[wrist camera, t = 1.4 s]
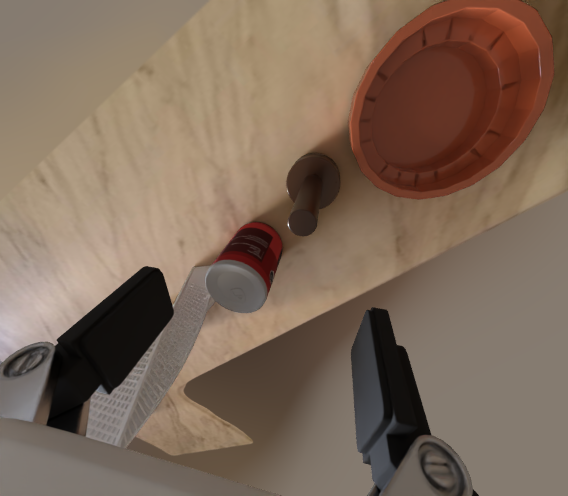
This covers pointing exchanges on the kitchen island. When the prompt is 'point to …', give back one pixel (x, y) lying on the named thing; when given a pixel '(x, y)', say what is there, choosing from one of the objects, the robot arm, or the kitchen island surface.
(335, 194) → the brown coffee tamper
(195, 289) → the skyscraper
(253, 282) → the canned food
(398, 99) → the bowl
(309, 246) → the kitchen island surface
